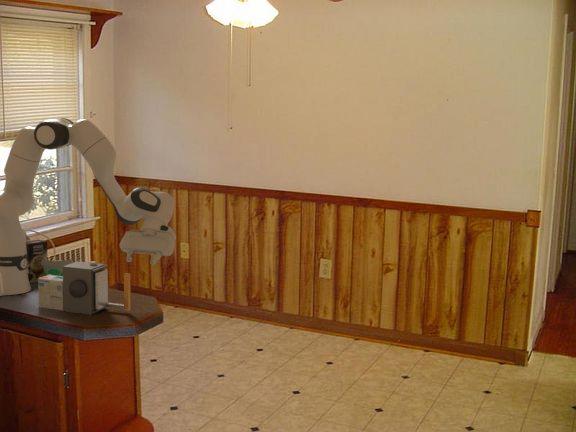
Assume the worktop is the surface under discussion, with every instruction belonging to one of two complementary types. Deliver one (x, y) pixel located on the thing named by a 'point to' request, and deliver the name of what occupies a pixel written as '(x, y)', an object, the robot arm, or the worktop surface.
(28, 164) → the robot arm
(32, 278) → the coffee box
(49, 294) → the light bulb box
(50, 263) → the food container
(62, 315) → the worktop surface
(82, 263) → the camera body
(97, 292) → the side door
